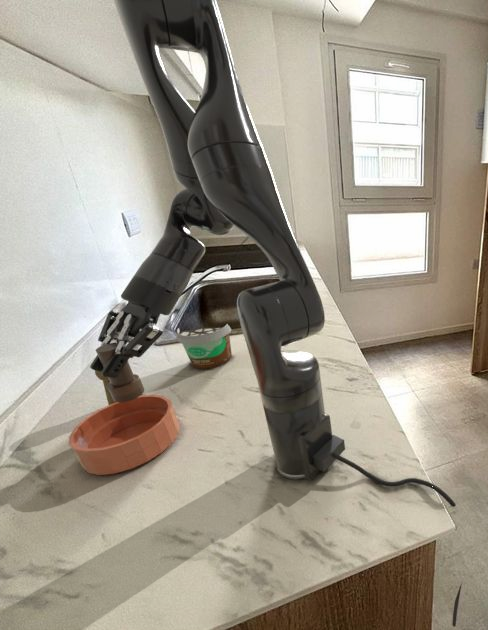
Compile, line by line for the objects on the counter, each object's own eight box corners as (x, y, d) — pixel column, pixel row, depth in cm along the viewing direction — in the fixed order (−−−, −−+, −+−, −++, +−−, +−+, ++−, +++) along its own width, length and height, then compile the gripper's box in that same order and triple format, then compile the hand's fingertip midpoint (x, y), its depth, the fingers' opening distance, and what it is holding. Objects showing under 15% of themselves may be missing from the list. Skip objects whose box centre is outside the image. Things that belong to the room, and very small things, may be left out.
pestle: (149, 391, 61) (130, 344, 57) (121, 405, 57) (98, 356, 53) (136, 384, 63) (117, 338, 58) (108, 397, 59) (85, 349, 55)
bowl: (196, 433, 65) (187, 409, 62) (106, 490, 53) (92, 464, 51) (156, 409, 71) (147, 386, 68) (68, 456, 59) (53, 431, 57)
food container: (178, 374, 82) (165, 339, 78) (186, 361, 88) (175, 328, 83) (232, 368, 85) (223, 334, 81) (238, 355, 91) (229, 323, 86)
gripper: (117, 268, 60) (56, 356, 55) (160, 281, 54) (96, 380, 50) (158, 287, 67) (107, 367, 62) (200, 300, 61) (148, 390, 56)
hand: (103, 372), depth 56 cm, fingers closed on pestle, 3 cm apart
